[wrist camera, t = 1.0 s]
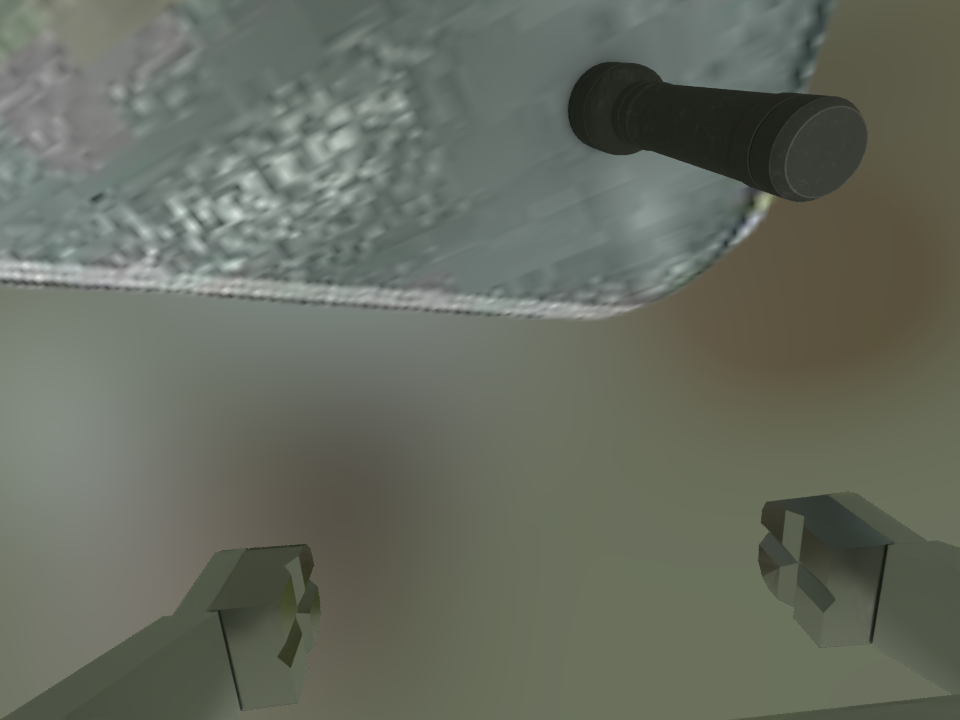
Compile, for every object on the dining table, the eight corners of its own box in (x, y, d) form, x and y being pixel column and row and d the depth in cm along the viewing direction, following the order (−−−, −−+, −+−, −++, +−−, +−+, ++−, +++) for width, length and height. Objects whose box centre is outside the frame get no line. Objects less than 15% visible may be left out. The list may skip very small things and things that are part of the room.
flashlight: (592, 164, 51) (656, 114, 50) (782, 259, 27) (915, 167, 25) (553, 98, 48) (620, 43, 46) (729, 139, 23) (879, 26, 22)
